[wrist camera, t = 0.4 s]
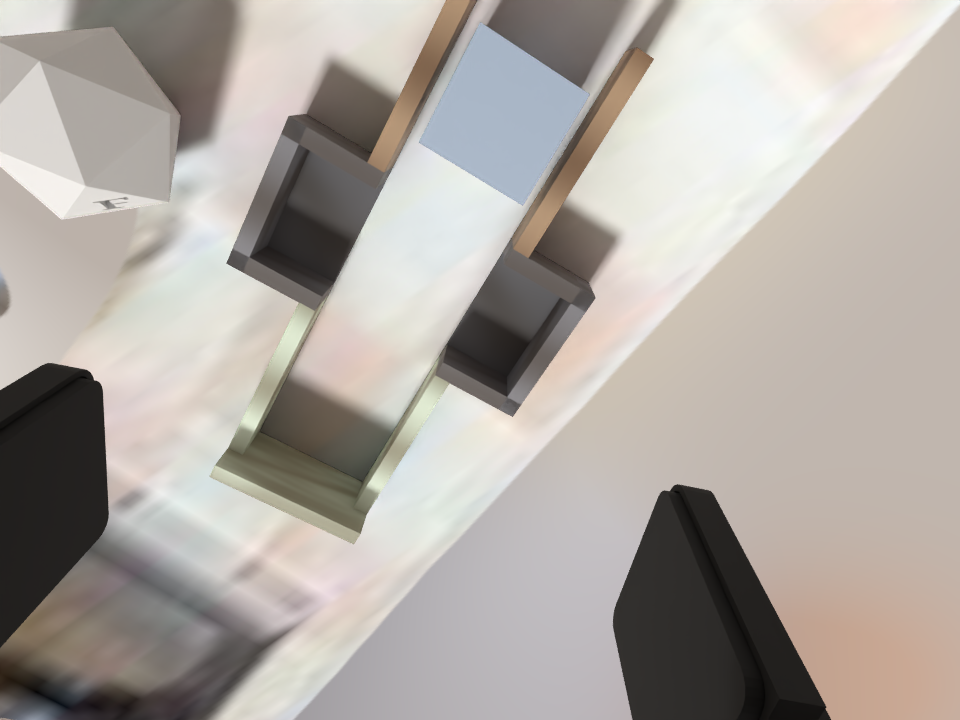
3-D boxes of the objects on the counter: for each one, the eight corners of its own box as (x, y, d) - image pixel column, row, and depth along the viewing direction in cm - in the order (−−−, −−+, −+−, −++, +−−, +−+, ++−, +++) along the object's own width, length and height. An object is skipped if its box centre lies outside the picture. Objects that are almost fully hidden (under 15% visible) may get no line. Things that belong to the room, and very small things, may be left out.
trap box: (400, -104, 30) (382, -139, 26) (708, 107, 34) (741, 110, 29) (179, 406, 42) (139, 444, 37) (423, 524, 45) (414, 572, 41)
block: (483, 31, 33) (480, 22, 28) (577, 94, 34) (589, 94, 29) (429, 135, 35) (418, 142, 30) (520, 191, 36) (522, 205, 31)
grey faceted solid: (41, 157, 36) (32, 273, 31) (-54, -5, 29) (-88, 108, 24) (193, 136, 39) (210, 241, 33) (139, -20, 31) (149, 81, 26)
